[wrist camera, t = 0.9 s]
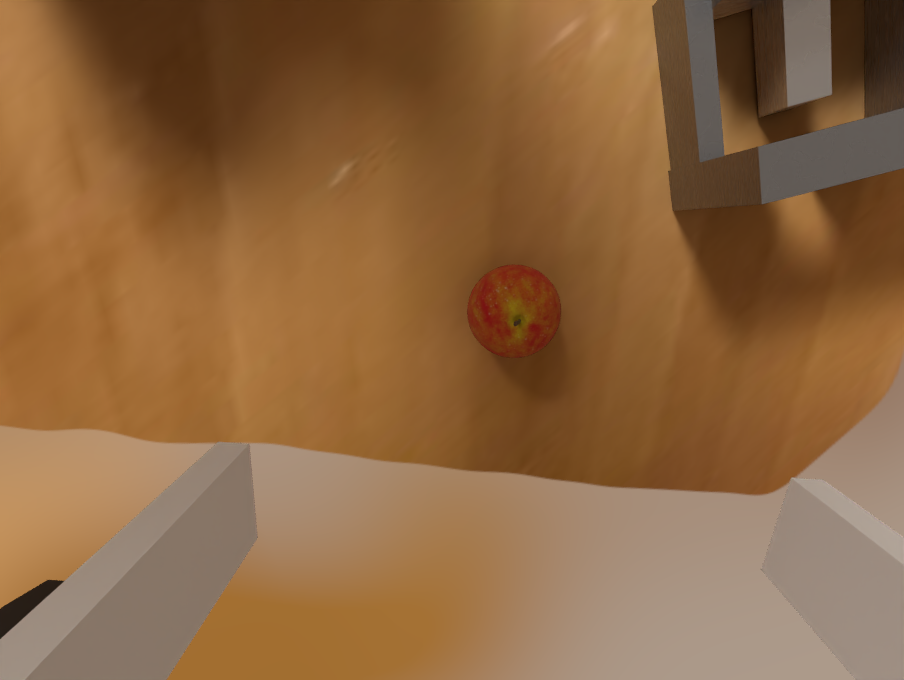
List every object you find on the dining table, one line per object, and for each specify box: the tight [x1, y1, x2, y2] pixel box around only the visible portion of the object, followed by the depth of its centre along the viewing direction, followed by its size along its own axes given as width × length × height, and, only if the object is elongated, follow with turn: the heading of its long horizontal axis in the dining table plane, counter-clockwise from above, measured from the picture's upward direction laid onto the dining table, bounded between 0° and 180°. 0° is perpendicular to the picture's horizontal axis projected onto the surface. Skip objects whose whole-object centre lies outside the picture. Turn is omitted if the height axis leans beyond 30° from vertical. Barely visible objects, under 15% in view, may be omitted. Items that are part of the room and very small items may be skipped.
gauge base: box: [652, 0, 904, 211], centre depth 25 cm, size 14×16×10 cm
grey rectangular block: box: [712, 0, 832, 117], centre depth 25 cm, size 9×14×7 cm, turn 104°
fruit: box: [467, 265, 561, 358], centre depth 31 cm, size 7×7×8 cm
